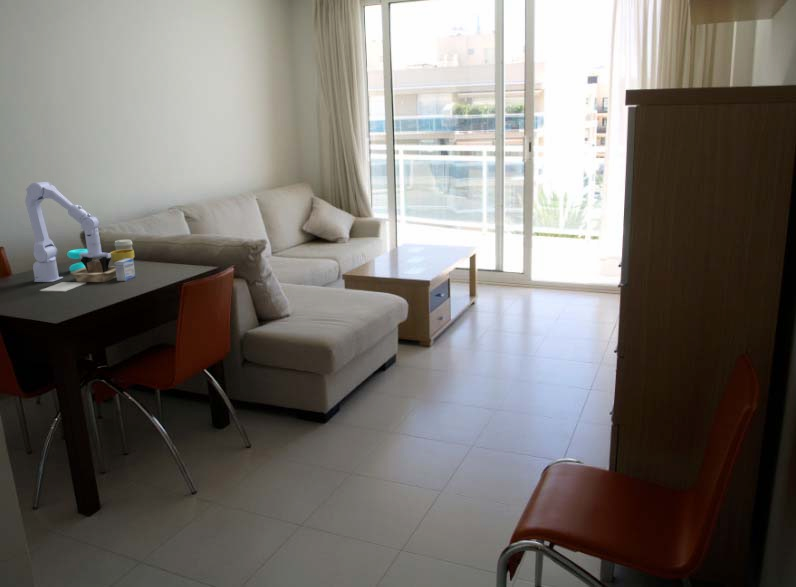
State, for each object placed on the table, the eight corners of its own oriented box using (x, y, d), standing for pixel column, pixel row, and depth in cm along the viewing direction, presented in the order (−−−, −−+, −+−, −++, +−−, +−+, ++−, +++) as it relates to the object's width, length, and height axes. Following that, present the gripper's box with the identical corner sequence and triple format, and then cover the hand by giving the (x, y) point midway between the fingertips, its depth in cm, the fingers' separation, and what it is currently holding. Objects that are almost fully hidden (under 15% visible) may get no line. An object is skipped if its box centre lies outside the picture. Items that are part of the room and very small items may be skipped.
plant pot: (110, 274, 315) (107, 254, 313) (116, 270, 325) (113, 249, 322) (134, 273, 317) (131, 252, 314) (138, 268, 326) (135, 248, 324)
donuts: (94, 249, 326) (75, 253, 318) (97, 269, 328) (78, 273, 320) (80, 247, 331) (61, 251, 323) (84, 267, 333) (65, 272, 325)
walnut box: (89, 280, 306) (86, 262, 303) (99, 276, 312) (96, 259, 310) (98, 280, 305) (95, 262, 303) (108, 276, 311) (105, 259, 309)
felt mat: (40, 291, 289) (39, 290, 289) (62, 283, 302) (62, 282, 302) (64, 291, 287) (64, 290, 287) (86, 283, 300) (85, 282, 300)
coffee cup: (119, 263, 340) (116, 239, 337) (137, 262, 341) (134, 238, 338) (114, 267, 332) (111, 242, 329) (133, 265, 333) (129, 241, 330)
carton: (67, 282, 302) (66, 273, 301) (92, 274, 319) (90, 265, 317) (106, 283, 298) (104, 274, 297) (128, 274, 314) (127, 265, 313)
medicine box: (125, 281, 301) (123, 262, 299) (116, 281, 302) (114, 262, 300) (136, 277, 309) (133, 258, 306) (127, 276, 310) (124, 258, 307)
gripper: (73, 245, 302) (78, 275, 306) (102, 245, 299) (106, 275, 302) (83, 242, 309) (88, 271, 312) (112, 242, 306) (116, 271, 309)
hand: (98, 273), depth 308 cm, fingers open, 7 cm apart
